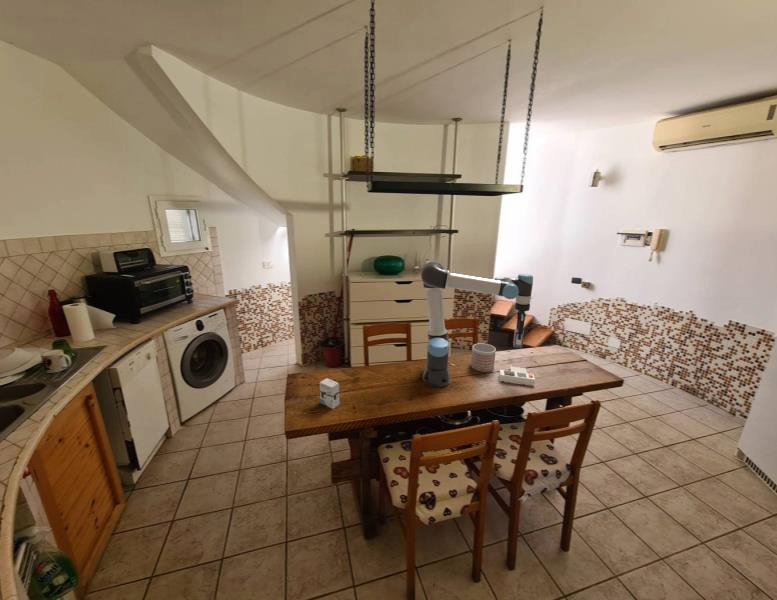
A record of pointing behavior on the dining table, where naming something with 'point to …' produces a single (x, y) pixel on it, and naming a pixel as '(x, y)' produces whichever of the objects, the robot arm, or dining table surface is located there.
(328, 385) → the ink box
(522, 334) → the charger
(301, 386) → the dining table surface
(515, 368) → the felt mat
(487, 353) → the planter
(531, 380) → the power strip
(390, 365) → the dining table surface
